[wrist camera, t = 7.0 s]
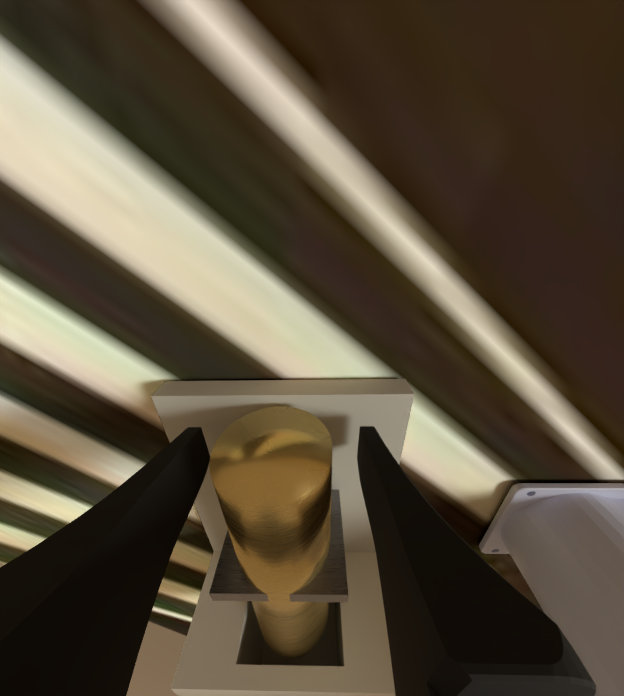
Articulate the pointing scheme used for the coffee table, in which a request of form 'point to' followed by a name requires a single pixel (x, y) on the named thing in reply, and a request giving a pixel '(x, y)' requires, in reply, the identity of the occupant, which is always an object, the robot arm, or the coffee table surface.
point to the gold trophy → (280, 525)
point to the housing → (360, 556)
